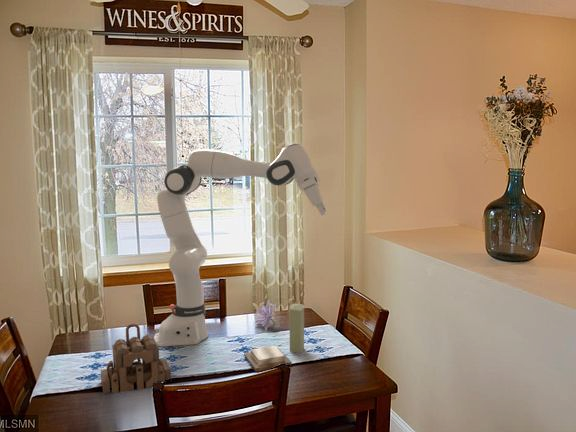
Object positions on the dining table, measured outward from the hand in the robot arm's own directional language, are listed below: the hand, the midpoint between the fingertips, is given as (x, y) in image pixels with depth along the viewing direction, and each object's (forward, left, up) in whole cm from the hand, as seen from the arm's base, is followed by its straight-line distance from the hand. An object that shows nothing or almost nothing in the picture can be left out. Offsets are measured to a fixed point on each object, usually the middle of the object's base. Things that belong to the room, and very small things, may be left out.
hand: (323, 213), depth 195 cm
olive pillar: (-13, -3, -53) cm, 55 cm away
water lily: (-16, +28, -54) cm, 62 cm away
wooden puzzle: (-74, -6, -54) cm, 92 cm away
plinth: (-27, -8, -53) cm, 60 cm away
